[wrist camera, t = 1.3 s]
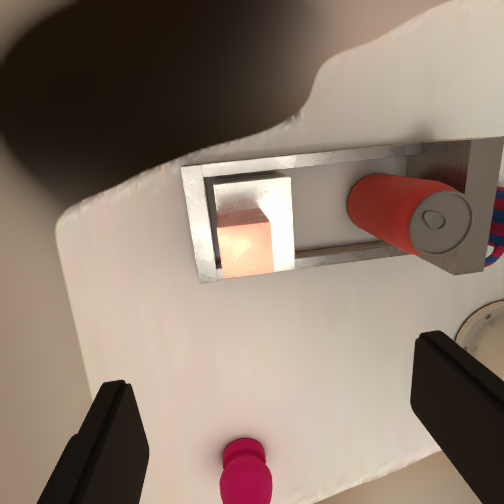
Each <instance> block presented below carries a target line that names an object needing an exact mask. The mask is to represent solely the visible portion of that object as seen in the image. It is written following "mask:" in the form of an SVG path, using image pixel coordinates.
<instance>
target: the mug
mask: <svg viewBox="0 0 504 504" xmlns="http://www.w3.org/2000/svg"><path fill="white" fill-rule="evenodd" d="M488 245H490V246H493V247H494V251H493V253H492V254H491V255H490V256H489V257H487V258H485V264H484V267H487V266H489V265H491V264H493V263H494V262H496V261H497V260H498V259H499V258H500V256H501V255H502V254H503V252H504V188H503V187H497V189H496V195H495V202H494V208H493V214H492V220H491V227H490V233H489V239H488Z"/></svg>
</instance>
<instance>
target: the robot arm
mask: <svg viewBox="0 0 504 504" xmlns="http://www.w3.org/2000/svg"><path fill="white" fill-rule="evenodd" d="M410 403H411V407H412V409H413V412H414V413H415V415H416V416H417V417H418V419H419V420H420V421H421V423H422V424H423V425H424V426H425V428H426V429H427V430H428V432H429V433H430V434H431V436H432V437H433V438H434V440H435V441H436V442H437V444H438V445H439V446H440V448H441V449H442V450H443V452H444V453H445V454H446V456H447V457H448V458H449V459H450V461H451V462H452V464H453V465H454V466H455V468H456V469H457V470H458V472H459V473H460V474H461V476H462V477H463V478H464V480H465V481H466V482H467V483H468V485H469V486H470V488H471V489H472V490H473V492H474V493H475V494H476V496H477V497H478V498H479V499H480V501H481V502H482V503H483V504H504V301H499V302H496V303H492V304H490V305H488V306H486V307H484V308H482V309H480V310H479V311H477V312H476V313H475V314H473V315H472V316H471V317H470V318H469V319H468V320H467V321H466V323H465V324H464V325H463V326H462V328H461V330H460V331H459V333H458V335H457V338H456V341H455V342H454V341H453V340H452V339H451V338H449V337H448V336H447V335H446V334H445V333H443V332H442V331H439V330H437V331H431V332H424V333H421V334H420V335H419V338H417V339H416V341H415V350H414V362H413V374H412V386H411V398H410ZM148 461H149V445H148V441H147V438H146V434H145V431H144V427H143V424H142V420H141V417H140V413H139V410H138V406H137V403H136V399H135V396H134V392H133V389H132V386H131V384H126V383H125V381H124V380H117V381H110V382H104V383H103V384H102V385H101V387H100V389H99V391H98V393H97V395H96V397H95V399H94V401H93V403H92V405H91V408H90V409H89V412H88V413H87V416H86V418H85V420H84V422H83V424H82V426H81V428H80V430H79V432H78V434H75V435H74V436H72V437H71V439H70V440H69V442H68V443H67V445H66V447H65V449H64V451H63V453H62V455H61V457H60V459H59V461H58V463H57V465H56V467H55V469H54V471H53V473H52V474H51V476H50V478H49V480H48V482H47V484H46V486H45V488H44V490H43V492H42V494H41V496H40V498H39V500H38V502H37V504H139V501H140V497H141V492H142V488H143V483H144V479H145V474H146V470H147V465H148Z"/></svg>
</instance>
